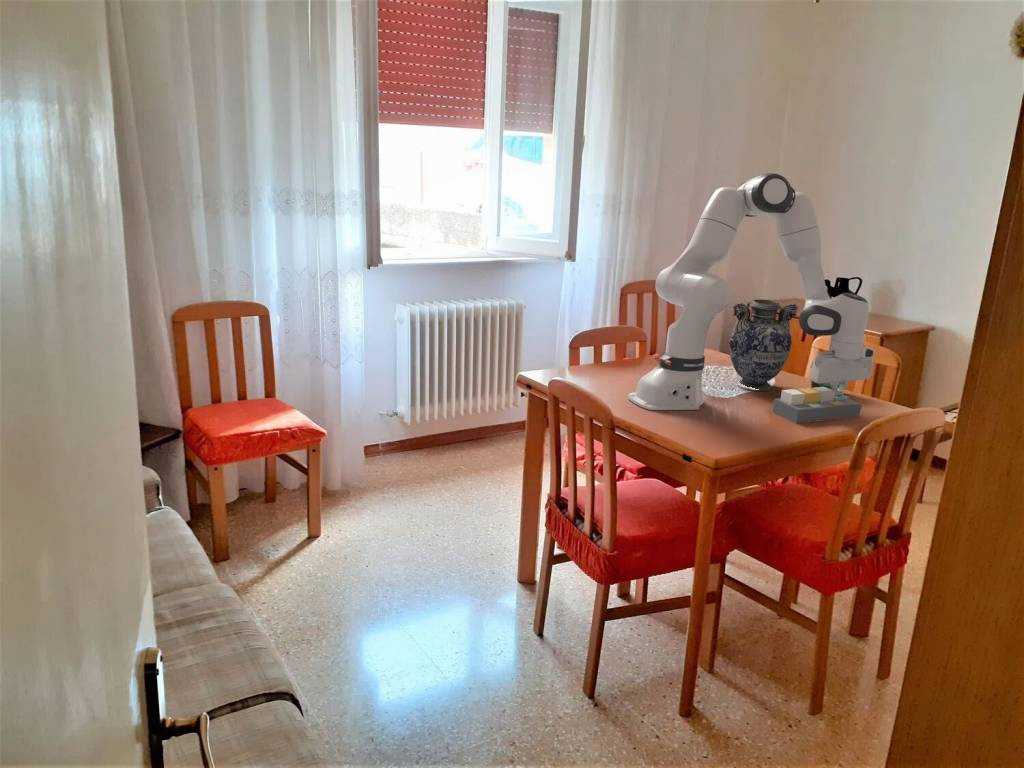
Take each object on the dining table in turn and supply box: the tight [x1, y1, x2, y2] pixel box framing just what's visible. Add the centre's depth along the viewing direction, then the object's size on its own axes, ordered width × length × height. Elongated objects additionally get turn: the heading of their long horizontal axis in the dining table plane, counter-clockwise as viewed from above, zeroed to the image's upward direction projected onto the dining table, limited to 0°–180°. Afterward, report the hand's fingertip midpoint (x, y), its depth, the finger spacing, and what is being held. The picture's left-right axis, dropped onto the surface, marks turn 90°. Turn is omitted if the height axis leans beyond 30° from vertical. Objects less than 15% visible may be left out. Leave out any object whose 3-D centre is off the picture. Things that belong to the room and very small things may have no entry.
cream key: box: [780, 388, 805, 405], centre depth 215 cm, size 4×4×4 cm
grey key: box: [812, 387, 835, 402], centre depth 219 cm, size 4×4×4 cm
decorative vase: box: [728, 299, 799, 392], centre depth 239 cm, size 21×19×28 cm
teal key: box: [834, 394, 849, 401], centre depth 221 cm, size 4×4×4 cm
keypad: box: [772, 397, 863, 424], centre depth 217 cm, size 23×10×4 cm, turn 111°
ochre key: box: [796, 387, 820, 404], centre depth 217 cm, size 4×4×4 cm
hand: (837, 395), depth 221 cm, fingers closed, pressing on teal key
